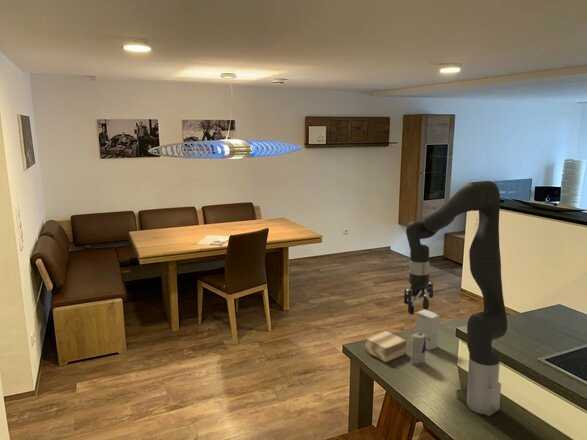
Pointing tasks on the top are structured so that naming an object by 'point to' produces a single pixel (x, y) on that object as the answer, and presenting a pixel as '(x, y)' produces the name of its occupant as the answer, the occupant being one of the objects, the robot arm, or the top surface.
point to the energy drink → (418, 349)
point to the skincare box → (428, 327)
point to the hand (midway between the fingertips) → (418, 311)
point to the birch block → (385, 346)
